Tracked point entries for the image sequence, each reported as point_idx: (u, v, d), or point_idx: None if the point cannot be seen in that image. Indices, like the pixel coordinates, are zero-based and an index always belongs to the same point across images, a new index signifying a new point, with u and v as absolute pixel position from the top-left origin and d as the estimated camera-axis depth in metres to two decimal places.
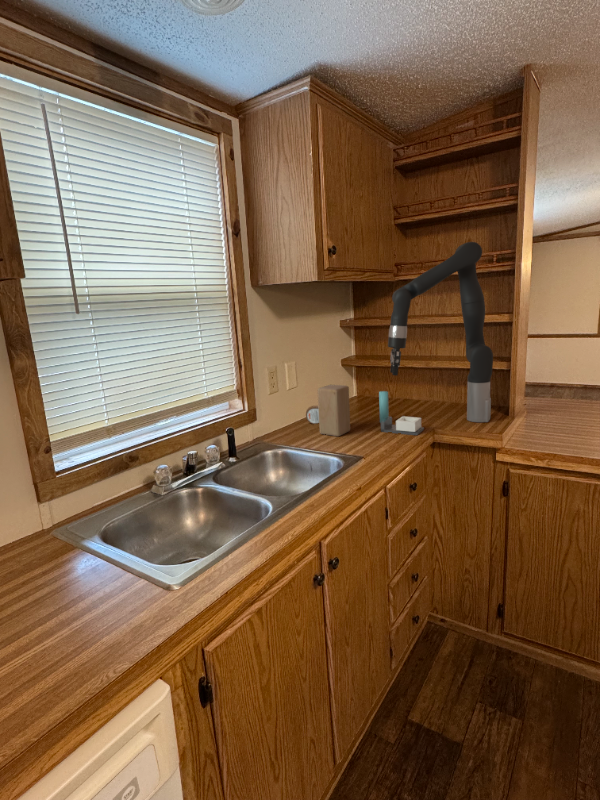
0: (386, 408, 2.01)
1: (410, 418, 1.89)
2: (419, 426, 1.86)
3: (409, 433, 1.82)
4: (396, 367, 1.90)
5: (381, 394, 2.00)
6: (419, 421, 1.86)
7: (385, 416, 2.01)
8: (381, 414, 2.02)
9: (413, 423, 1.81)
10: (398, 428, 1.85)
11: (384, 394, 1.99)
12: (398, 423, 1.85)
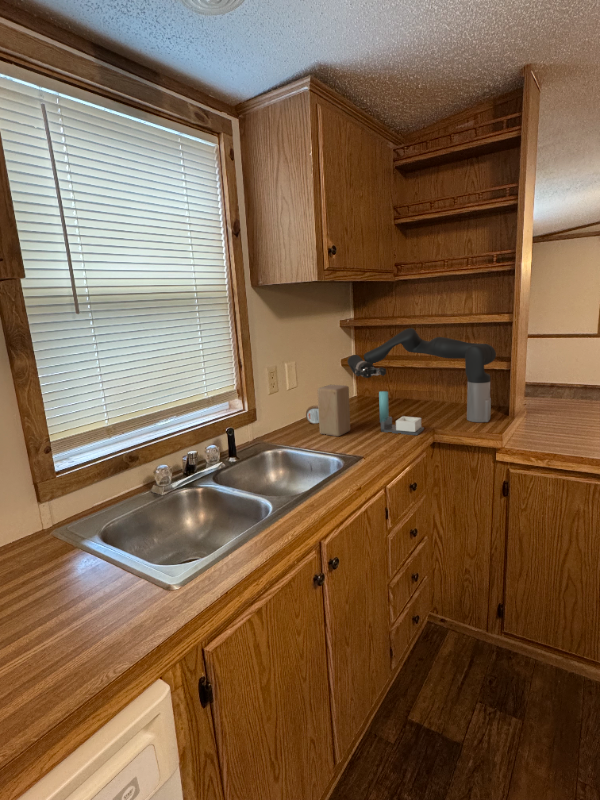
0: (386, 408, 2.01)
1: (410, 418, 1.89)
2: (419, 426, 1.86)
3: (409, 433, 1.82)
4: (361, 373, 2.13)
5: (381, 394, 2.00)
6: (419, 421, 1.86)
7: (385, 416, 2.01)
8: (381, 414, 2.02)
9: (413, 423, 1.81)
10: (398, 428, 1.85)
11: (384, 394, 1.99)
12: (398, 423, 1.85)
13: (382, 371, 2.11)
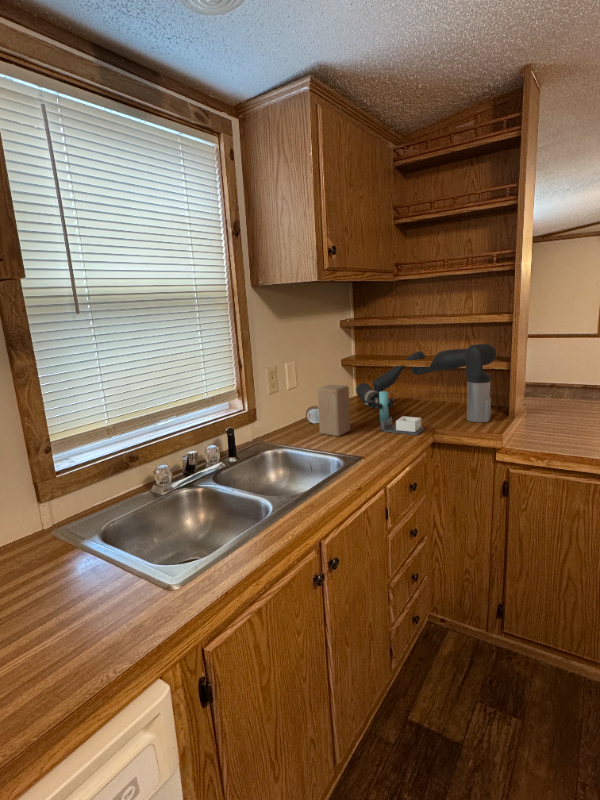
0: (386, 408, 2.01)
1: (410, 418, 1.89)
2: (419, 426, 1.86)
3: (409, 433, 1.82)
4: (376, 404, 2.02)
5: (381, 394, 2.00)
6: (419, 421, 1.86)
7: (385, 416, 2.01)
8: (382, 414, 2.02)
9: (413, 423, 1.81)
10: (398, 428, 1.85)
11: (384, 394, 1.99)
12: (398, 423, 1.85)
13: (389, 403, 2.00)
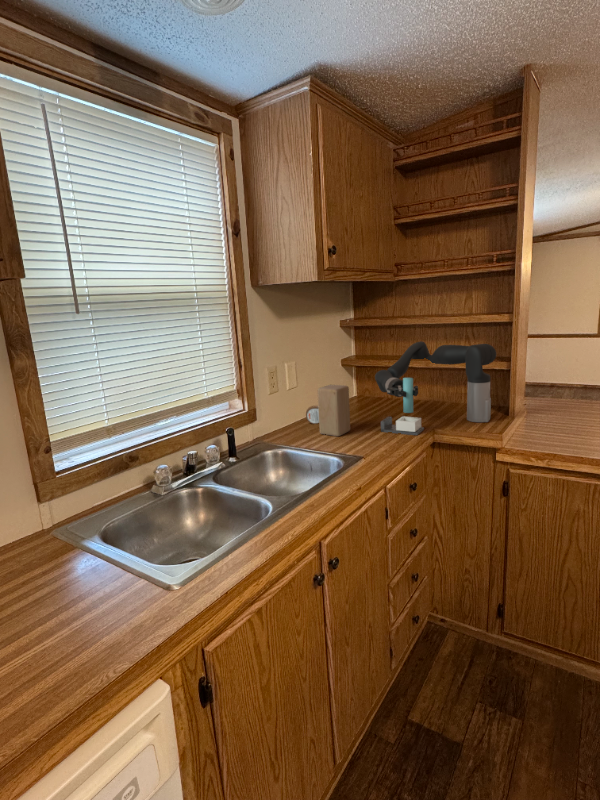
0: (411, 396, 1.83)
1: (410, 418, 1.89)
2: (419, 426, 1.86)
3: (409, 433, 1.82)
4: (399, 392, 1.84)
5: (405, 381, 1.81)
6: (419, 421, 1.86)
7: (410, 405, 1.83)
8: (406, 403, 1.83)
9: (413, 423, 1.81)
10: (398, 428, 1.85)
11: (409, 381, 1.81)
12: (398, 423, 1.85)
13: (414, 391, 1.82)
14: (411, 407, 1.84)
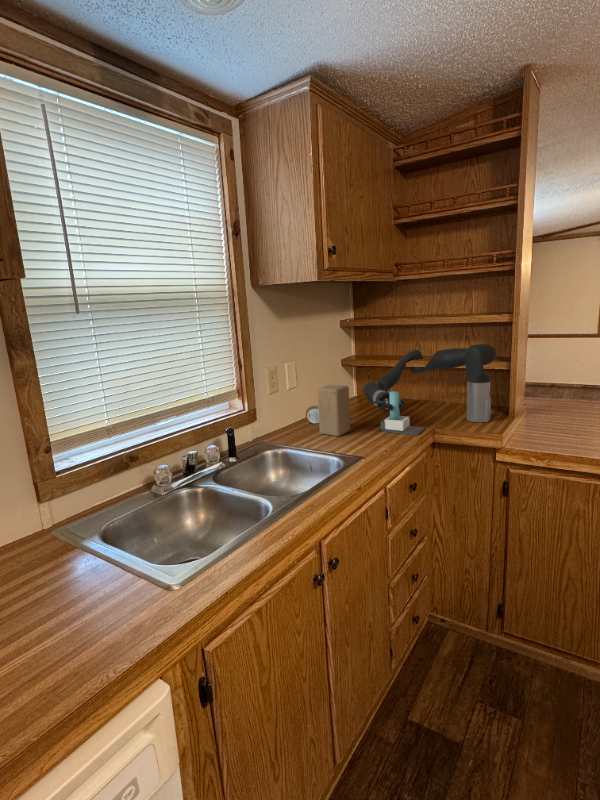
0: (397, 409, 1.87)
1: None
2: (407, 425, 1.89)
3: (409, 433, 1.82)
4: (386, 405, 1.89)
5: (392, 394, 1.86)
6: (407, 420, 1.88)
7: (396, 418, 1.87)
8: (392, 416, 1.88)
9: (401, 422, 1.84)
10: (386, 427, 1.88)
11: (395, 394, 1.85)
12: (387, 422, 1.87)
13: (400, 404, 1.86)
14: None
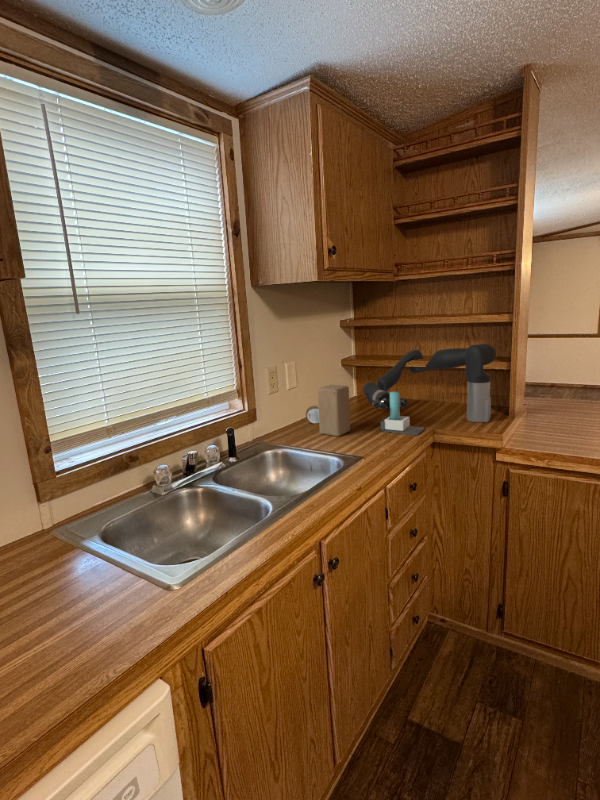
0: (397, 410, 1.87)
1: None
2: (407, 425, 1.89)
3: (409, 433, 1.82)
4: (380, 405, 1.89)
5: (392, 395, 1.86)
6: (407, 420, 1.88)
7: (397, 418, 1.87)
8: (392, 417, 1.88)
9: (401, 422, 1.84)
10: (386, 427, 1.88)
11: (395, 395, 1.85)
12: (387, 422, 1.87)
13: (403, 403, 1.88)
14: None
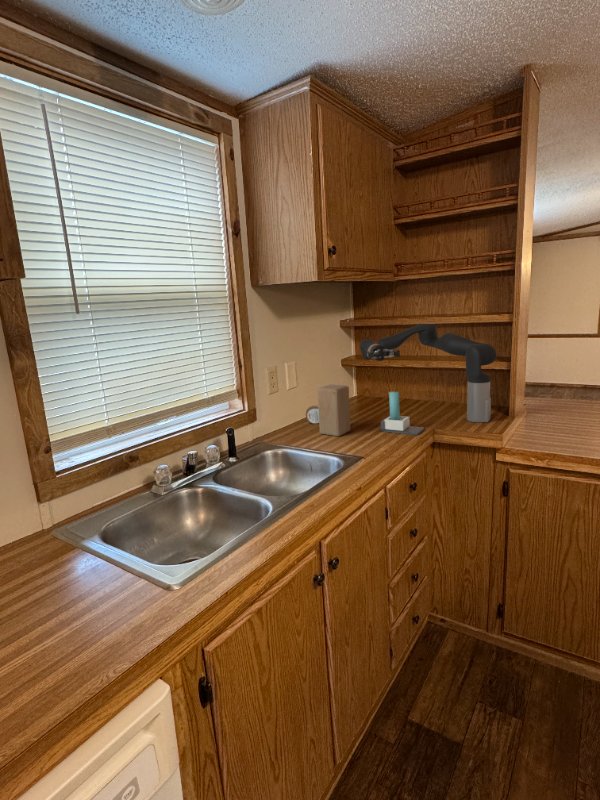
0: (397, 410, 1.87)
1: None
2: (407, 425, 1.89)
3: (409, 433, 1.82)
4: (374, 355, 2.03)
5: (392, 395, 1.86)
6: (407, 420, 1.88)
7: (397, 418, 1.88)
8: (392, 417, 1.88)
9: (401, 422, 1.84)
10: (386, 427, 1.88)
11: (395, 395, 1.85)
12: (387, 422, 1.87)
13: (396, 352, 2.01)
14: None
